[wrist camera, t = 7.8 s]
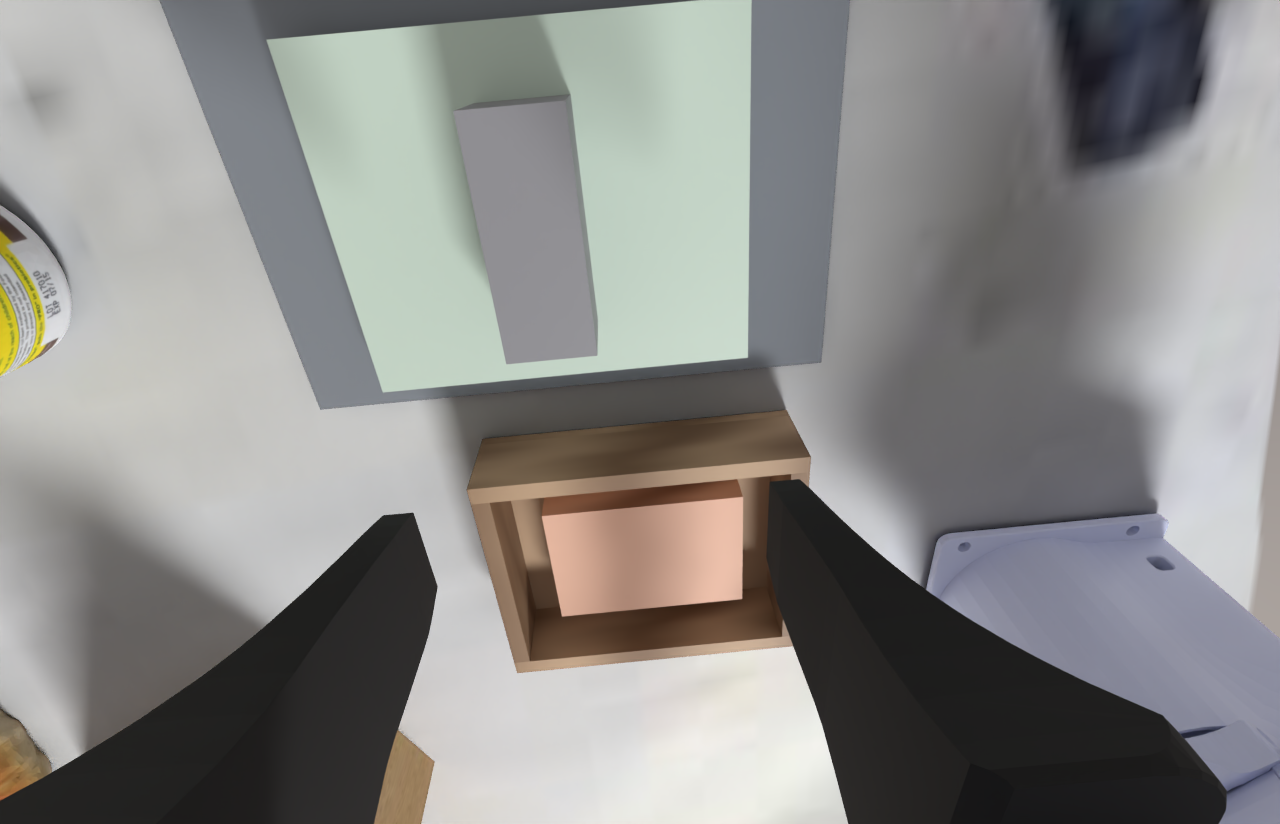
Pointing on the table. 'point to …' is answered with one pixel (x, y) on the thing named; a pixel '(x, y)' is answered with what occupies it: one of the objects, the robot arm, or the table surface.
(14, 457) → the table surface
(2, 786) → the pastry
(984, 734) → the robot arm
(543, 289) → the lid
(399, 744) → the sandwich container
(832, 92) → the slate mat
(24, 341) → the supplement bottle
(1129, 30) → the table surface
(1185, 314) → the table surface
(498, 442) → the walnut box
